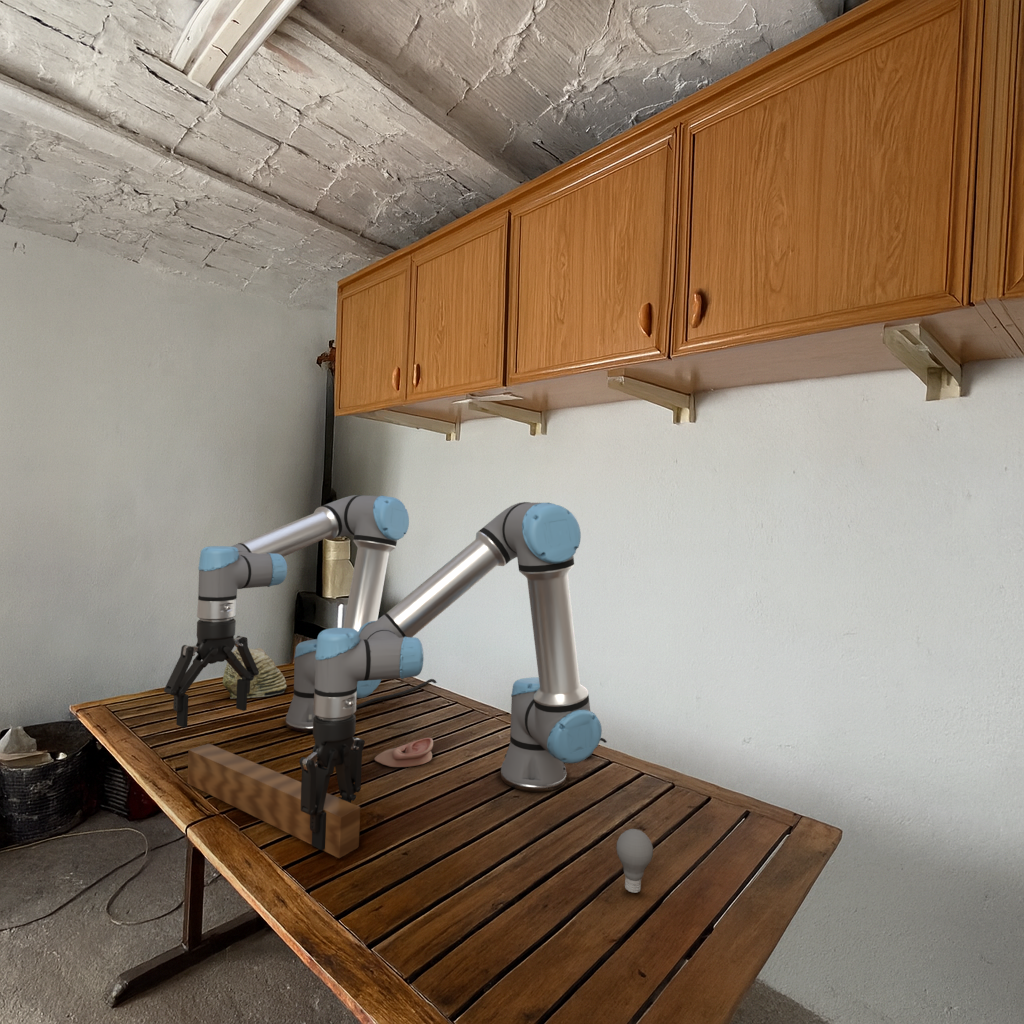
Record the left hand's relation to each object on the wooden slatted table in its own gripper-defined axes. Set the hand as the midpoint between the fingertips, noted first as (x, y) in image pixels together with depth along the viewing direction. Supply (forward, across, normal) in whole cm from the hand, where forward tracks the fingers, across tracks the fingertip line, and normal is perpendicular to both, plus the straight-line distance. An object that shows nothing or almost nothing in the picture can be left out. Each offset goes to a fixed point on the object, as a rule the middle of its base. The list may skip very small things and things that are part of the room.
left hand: (212, 717), depth 136 cm
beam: (+15, 0, -19) cm, 24 cm away
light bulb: (+15, +20, -88) cm, 92 cm away
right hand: (+14, 0, -37) cm, 40 cm away
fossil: (+15, +44, +47) cm, 66 cm away
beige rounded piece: (+15, +36, -22) cm, 45 cm away
